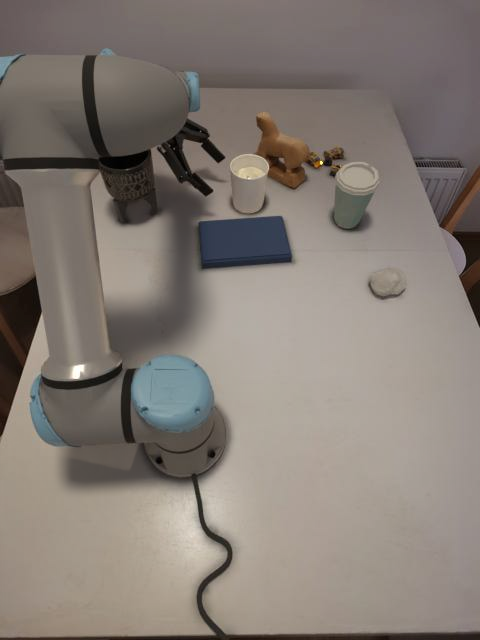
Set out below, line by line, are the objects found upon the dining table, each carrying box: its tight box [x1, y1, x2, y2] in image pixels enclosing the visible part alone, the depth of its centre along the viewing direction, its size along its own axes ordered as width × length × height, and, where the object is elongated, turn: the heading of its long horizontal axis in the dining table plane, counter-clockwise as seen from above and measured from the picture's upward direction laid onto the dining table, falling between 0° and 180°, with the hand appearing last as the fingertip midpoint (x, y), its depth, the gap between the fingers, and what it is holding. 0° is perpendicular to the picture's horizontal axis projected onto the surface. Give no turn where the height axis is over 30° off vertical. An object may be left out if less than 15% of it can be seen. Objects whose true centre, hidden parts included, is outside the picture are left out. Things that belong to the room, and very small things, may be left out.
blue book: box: [197, 215, 293, 270], centre depth 108 cm, size 14×22×2 cm, turn 97°
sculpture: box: [253, 110, 311, 189], centre depth 119 cm, size 6×17×15 cm, turn 50°
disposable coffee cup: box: [333, 161, 380, 229], centre depth 108 cm, size 11×11×15 cm
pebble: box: [368, 267, 408, 297], centre depth 100 cm, size 9×8×5 cm
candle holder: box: [229, 153, 269, 214], centre depth 113 cm, size 10×10×12 cm
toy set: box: [305, 146, 345, 176], centre depth 126 cm, size 12×11×5 cm
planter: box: [99, 148, 159, 224], centre depth 108 cm, size 13×13×18 cm
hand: (216, 176), depth 112 cm, fingers open, 13 cm apart
